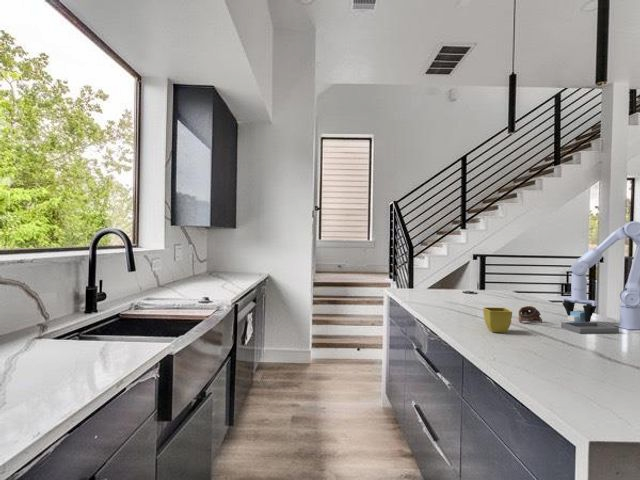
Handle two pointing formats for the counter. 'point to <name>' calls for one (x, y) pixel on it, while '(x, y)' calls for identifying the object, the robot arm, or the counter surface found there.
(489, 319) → the flower pot
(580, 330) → the tray
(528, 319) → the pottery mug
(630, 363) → the counter surface
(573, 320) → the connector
